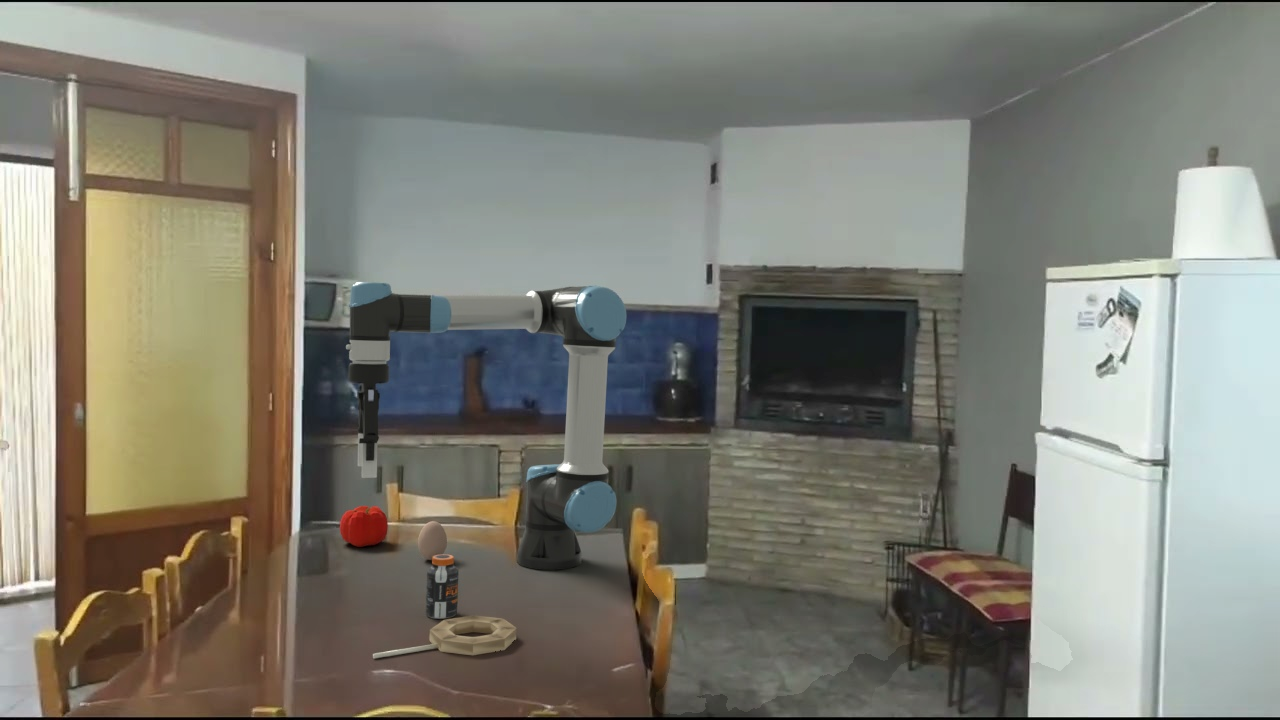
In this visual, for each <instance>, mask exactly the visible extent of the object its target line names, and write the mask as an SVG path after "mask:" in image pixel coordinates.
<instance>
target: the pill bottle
mask: <svg viewBox="0 0 1280 720" xmlns="http://www.w3.org/2000/svg"><path fill="white" fill-rule="evenodd" d="M454 557H455V556H453V555H451V554H445V553H443V554H442V555H435V556H433V558H432V560H431V563H432V566H430V567H428V569H427V570H426V587H425V588H426V590H425V591H426V592H425V615H426V616H427V617H428V618H431V619H436V620H437V619H439V620H442V619H443V620H445V619H451V618H452V617H455V616H456V615H457V614H458V603H459V602H458V601H459V599H458V598H459V597H458V596H459V595H458V593H459V592H458V591H459V570H458V568H457V567H456V566H455V565H454V561H455V559H454Z"/></svg>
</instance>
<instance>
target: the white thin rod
mask: <svg viewBox="0 0 1280 720" xmlns="http://www.w3.org/2000/svg"><path fill="white" fill-rule="evenodd" d="M435 649H438V644H432V643H431V644H425V645H419V646H413V647H406V648H400V649H392V650H389V651H388V650H387V651H383V652H382V651H381V652H376V653H372V658H373V659H374V660H375V659H379V658H380V659H381V658H387V657H392V656H399V655H403V654H410V653H416V652H422V651H430V650H435Z"/></svg>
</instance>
